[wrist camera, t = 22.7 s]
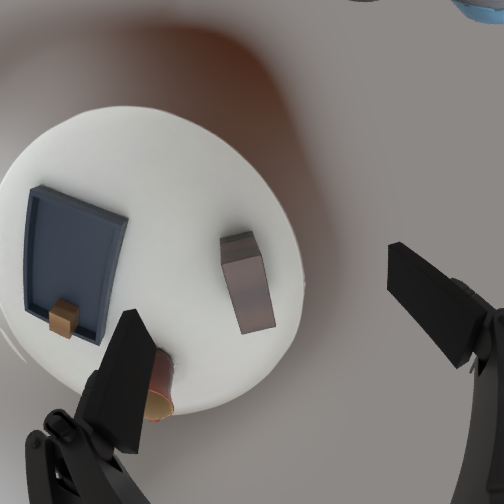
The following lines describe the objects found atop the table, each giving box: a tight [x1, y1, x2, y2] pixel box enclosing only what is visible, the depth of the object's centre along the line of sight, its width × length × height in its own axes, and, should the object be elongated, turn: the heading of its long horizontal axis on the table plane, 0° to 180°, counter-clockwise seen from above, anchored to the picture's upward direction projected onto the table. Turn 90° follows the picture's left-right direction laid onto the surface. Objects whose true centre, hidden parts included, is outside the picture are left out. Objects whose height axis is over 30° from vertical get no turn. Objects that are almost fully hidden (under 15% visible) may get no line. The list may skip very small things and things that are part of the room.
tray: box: [23, 185, 129, 346], centre depth 33 cm, size 22×16×3 cm
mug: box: [143, 349, 174, 422], centre depth 39 cm, size 12×9×10 cm
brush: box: [220, 231, 276, 334], centre depth 35 cm, size 10×4×8 cm, turn 12°
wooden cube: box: [49, 298, 79, 339], centre depth 35 cm, size 4×4×4 cm
